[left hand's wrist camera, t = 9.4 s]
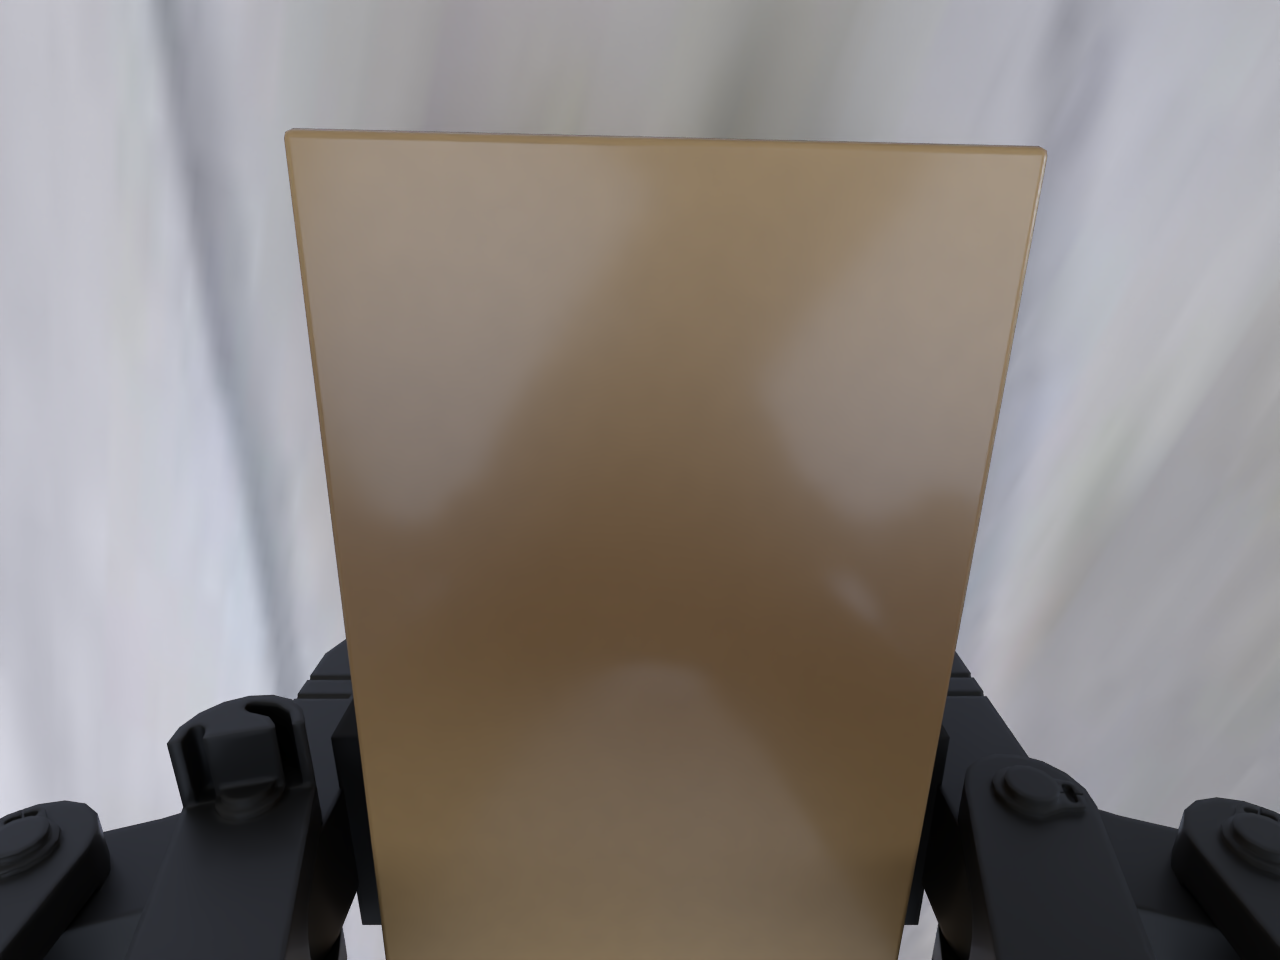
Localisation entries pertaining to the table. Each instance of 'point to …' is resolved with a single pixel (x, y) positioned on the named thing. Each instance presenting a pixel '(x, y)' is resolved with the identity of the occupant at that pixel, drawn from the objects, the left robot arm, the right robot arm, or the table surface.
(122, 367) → the table surface
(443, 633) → the bar
